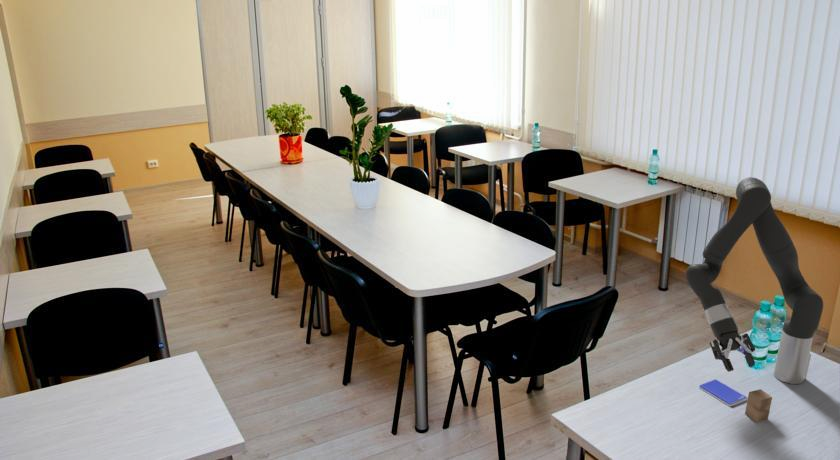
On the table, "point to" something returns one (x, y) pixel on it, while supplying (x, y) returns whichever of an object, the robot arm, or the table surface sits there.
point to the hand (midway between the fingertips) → (741, 368)
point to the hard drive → (723, 392)
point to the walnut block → (758, 405)
